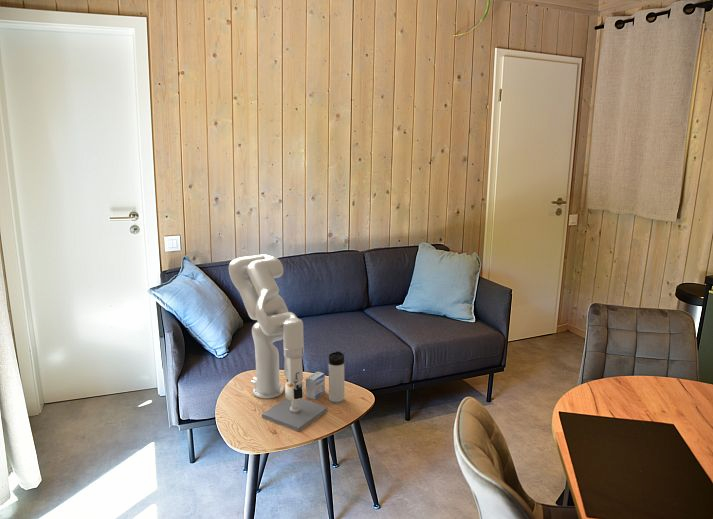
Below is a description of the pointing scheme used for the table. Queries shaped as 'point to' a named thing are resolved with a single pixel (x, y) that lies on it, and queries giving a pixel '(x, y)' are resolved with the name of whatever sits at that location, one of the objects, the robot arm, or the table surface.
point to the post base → (294, 413)
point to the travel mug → (336, 377)
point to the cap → (292, 391)
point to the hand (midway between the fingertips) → (294, 392)
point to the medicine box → (315, 385)
